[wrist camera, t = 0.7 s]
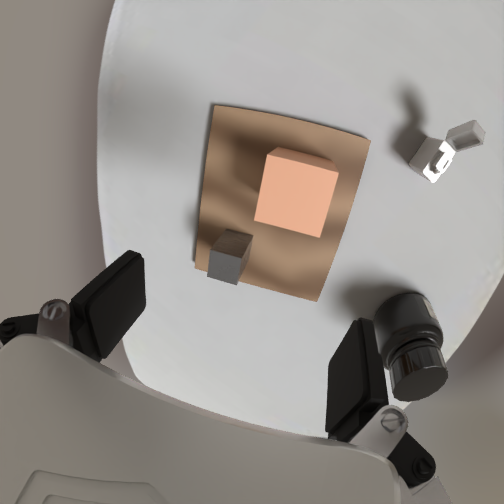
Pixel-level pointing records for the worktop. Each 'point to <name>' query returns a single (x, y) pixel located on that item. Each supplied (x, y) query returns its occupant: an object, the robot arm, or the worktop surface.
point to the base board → (248, 188)
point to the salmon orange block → (296, 191)
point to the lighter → (445, 149)
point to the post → (229, 256)
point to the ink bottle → (411, 346)
